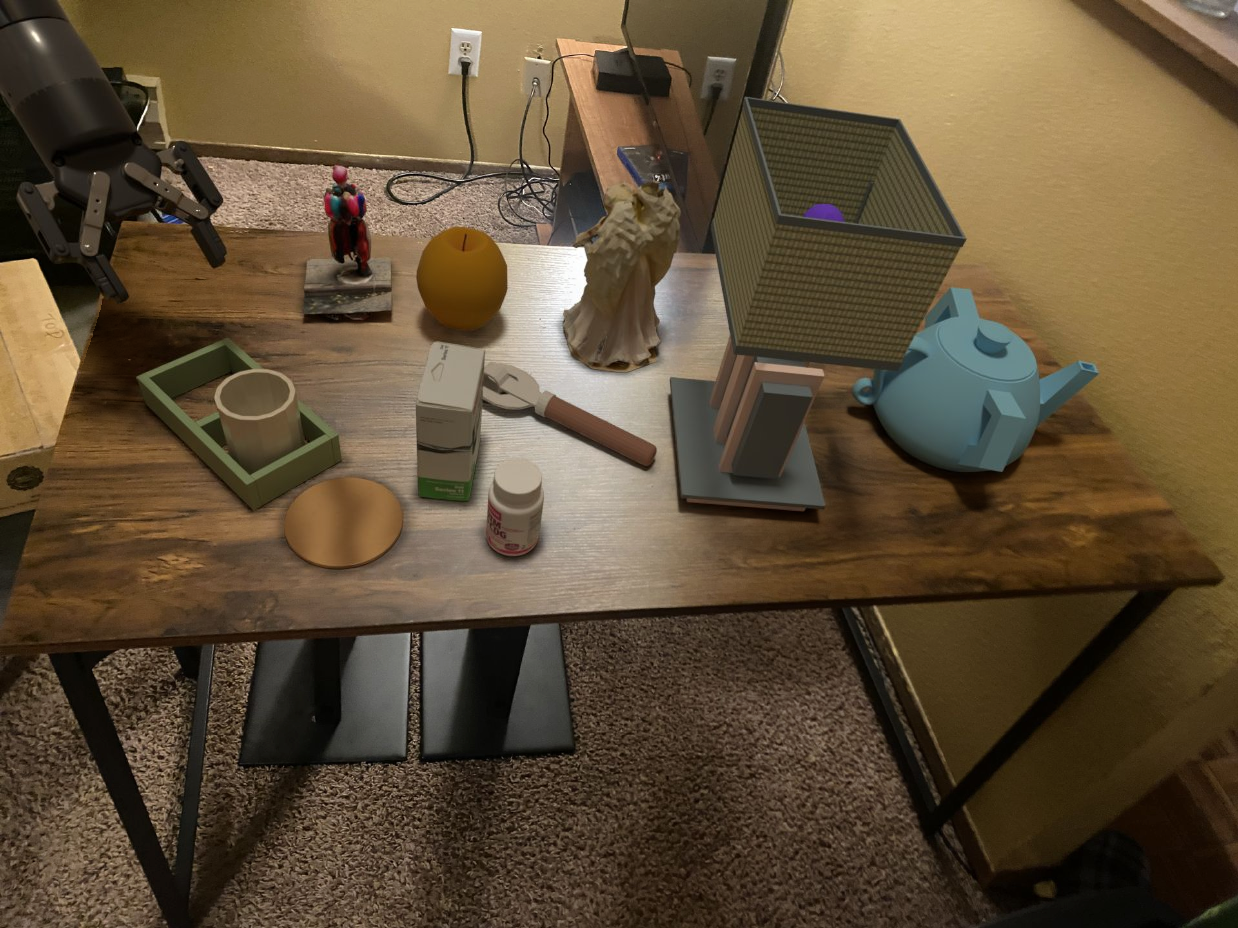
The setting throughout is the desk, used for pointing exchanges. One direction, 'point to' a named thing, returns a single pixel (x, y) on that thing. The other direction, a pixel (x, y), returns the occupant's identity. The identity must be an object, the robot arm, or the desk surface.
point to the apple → (462, 278)
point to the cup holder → (209, 433)
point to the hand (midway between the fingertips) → (173, 282)
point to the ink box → (449, 420)
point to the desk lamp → (806, 290)
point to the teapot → (967, 390)
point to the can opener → (559, 411)
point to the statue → (347, 260)
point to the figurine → (623, 278)
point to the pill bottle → (515, 507)
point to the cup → (259, 417)
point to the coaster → (343, 523)
